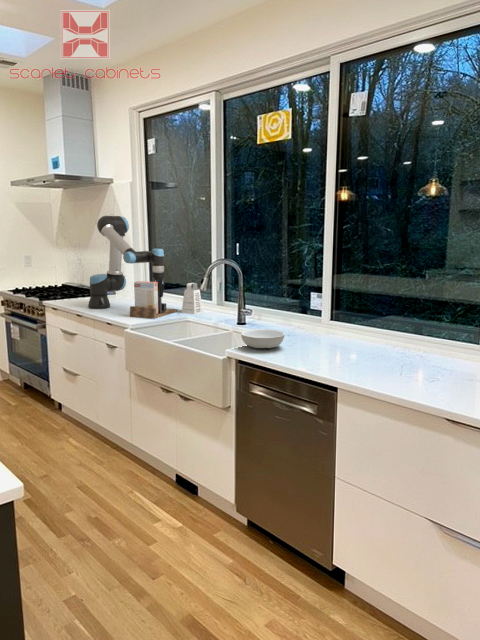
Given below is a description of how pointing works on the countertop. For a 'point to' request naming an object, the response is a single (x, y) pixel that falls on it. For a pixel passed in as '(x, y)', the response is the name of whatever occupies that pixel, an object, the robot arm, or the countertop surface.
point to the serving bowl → (262, 338)
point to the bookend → (161, 306)
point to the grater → (192, 300)
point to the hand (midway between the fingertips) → (159, 306)
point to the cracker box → (146, 294)
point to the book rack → (148, 312)
